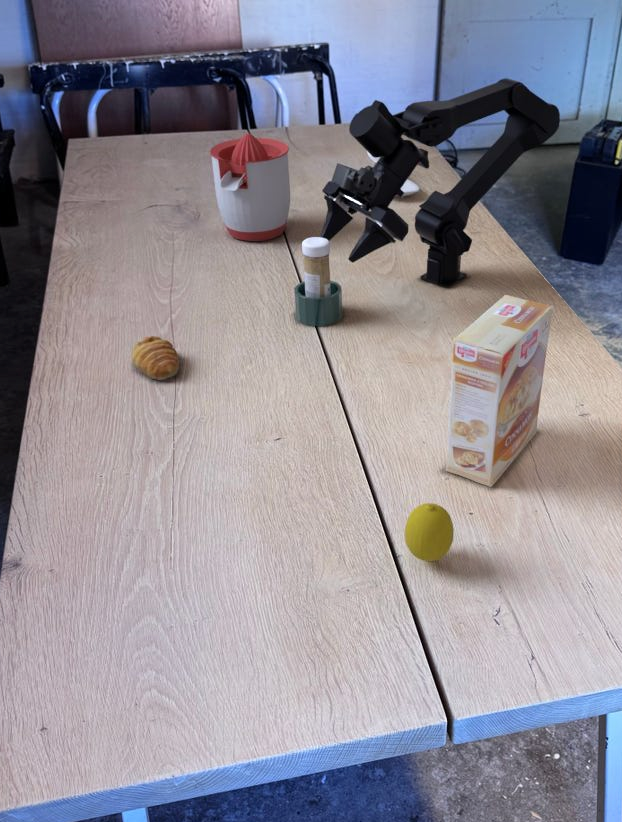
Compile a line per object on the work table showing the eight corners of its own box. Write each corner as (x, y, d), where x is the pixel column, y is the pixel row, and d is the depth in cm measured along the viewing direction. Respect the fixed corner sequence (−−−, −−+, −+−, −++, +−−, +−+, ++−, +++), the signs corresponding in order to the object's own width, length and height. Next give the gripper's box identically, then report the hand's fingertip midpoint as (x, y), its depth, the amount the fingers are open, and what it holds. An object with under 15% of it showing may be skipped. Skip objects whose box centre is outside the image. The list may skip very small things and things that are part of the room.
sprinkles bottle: (337, 317, 152) (334, 242, 143) (314, 324, 150) (310, 248, 141) (323, 307, 155) (320, 233, 146) (301, 314, 153) (296, 239, 144)
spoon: (400, 159, 222) (400, 144, 220) (422, 202, 197) (423, 186, 195) (365, 160, 221) (365, 146, 219) (382, 204, 196) (382, 189, 194)
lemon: (401, 545, 104) (402, 491, 99) (447, 542, 104) (451, 488, 99) (407, 577, 99) (408, 523, 95) (455, 573, 100) (459, 519, 95)
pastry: (190, 375, 136) (187, 353, 134) (149, 387, 133) (145, 365, 131) (169, 350, 142) (165, 329, 140) (129, 362, 140) (124, 340, 137)
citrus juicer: (200, 243, 179) (187, 142, 166) (241, 214, 191) (232, 119, 179) (269, 254, 174) (260, 151, 162) (306, 224, 187) (301, 126, 174)
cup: (317, 301, 157) (316, 275, 154) (351, 313, 152) (350, 287, 149) (286, 317, 152) (284, 290, 149) (321, 330, 148) (319, 303, 145)
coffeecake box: (492, 488, 112) (505, 354, 100) (443, 471, 115) (450, 339, 104) (538, 433, 122) (555, 304, 111) (492, 418, 125) (503, 292, 114)
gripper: (330, 130, 146) (276, 209, 147) (394, 159, 133) (335, 244, 135) (369, 170, 154) (318, 244, 156) (433, 200, 141) (377, 280, 143)
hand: (335, 252), depth 147 cm, fingers open, 9 cm apart
